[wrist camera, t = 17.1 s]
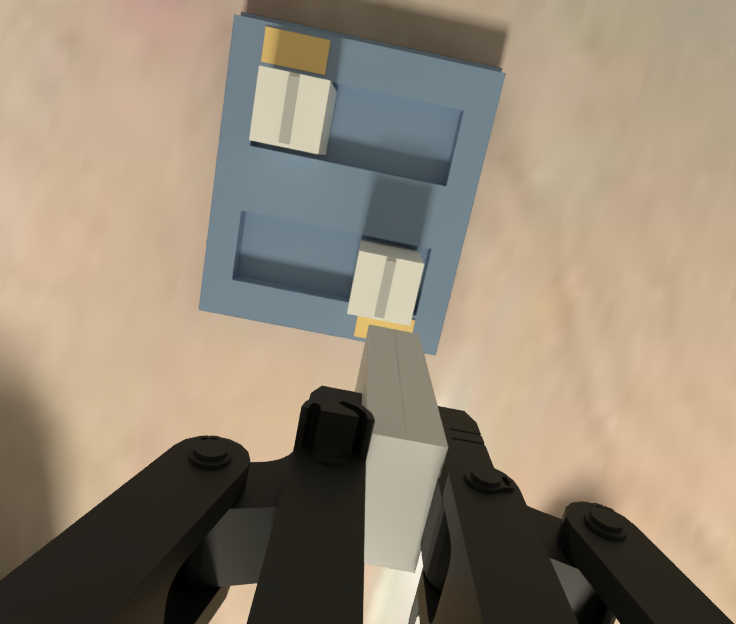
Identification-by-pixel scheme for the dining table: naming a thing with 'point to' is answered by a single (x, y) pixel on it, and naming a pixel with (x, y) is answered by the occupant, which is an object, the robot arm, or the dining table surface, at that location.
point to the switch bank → (344, 179)
